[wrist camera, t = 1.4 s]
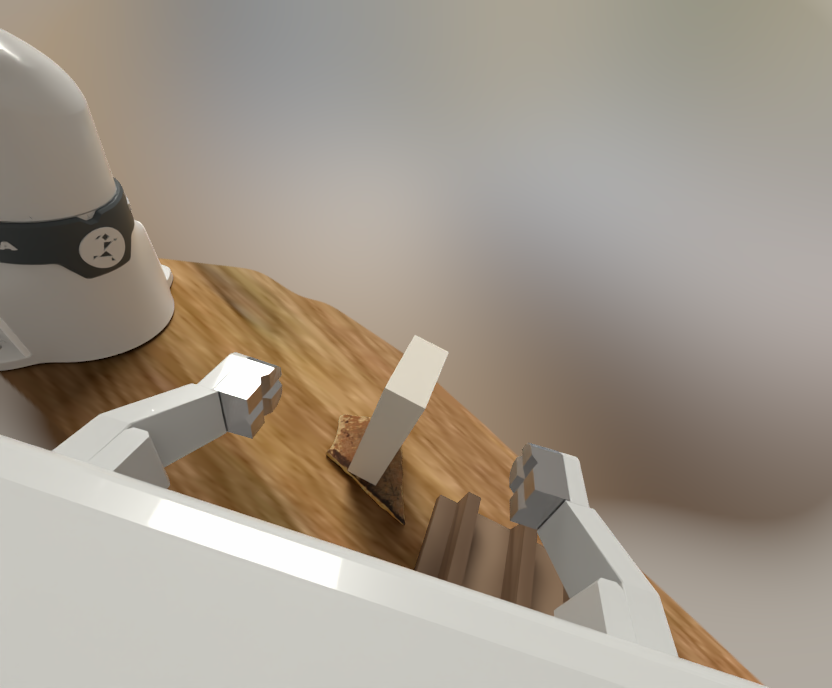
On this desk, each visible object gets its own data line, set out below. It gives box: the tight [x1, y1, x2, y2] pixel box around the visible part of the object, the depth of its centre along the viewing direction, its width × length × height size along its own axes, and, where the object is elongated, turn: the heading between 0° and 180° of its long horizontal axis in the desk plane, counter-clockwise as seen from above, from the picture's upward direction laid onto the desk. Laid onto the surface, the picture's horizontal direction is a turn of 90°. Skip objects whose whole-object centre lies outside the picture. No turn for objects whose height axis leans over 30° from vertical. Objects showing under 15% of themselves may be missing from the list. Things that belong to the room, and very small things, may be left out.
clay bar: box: [348, 335, 449, 486], centre depth 30 cm, size 3×6×14 cm, turn 159°
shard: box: [326, 415, 405, 525], centre depth 34 cm, size 11×8×2 cm
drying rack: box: [414, 492, 570, 616], centre depth 29 cm, size 16×9×4 cm, turn 69°
